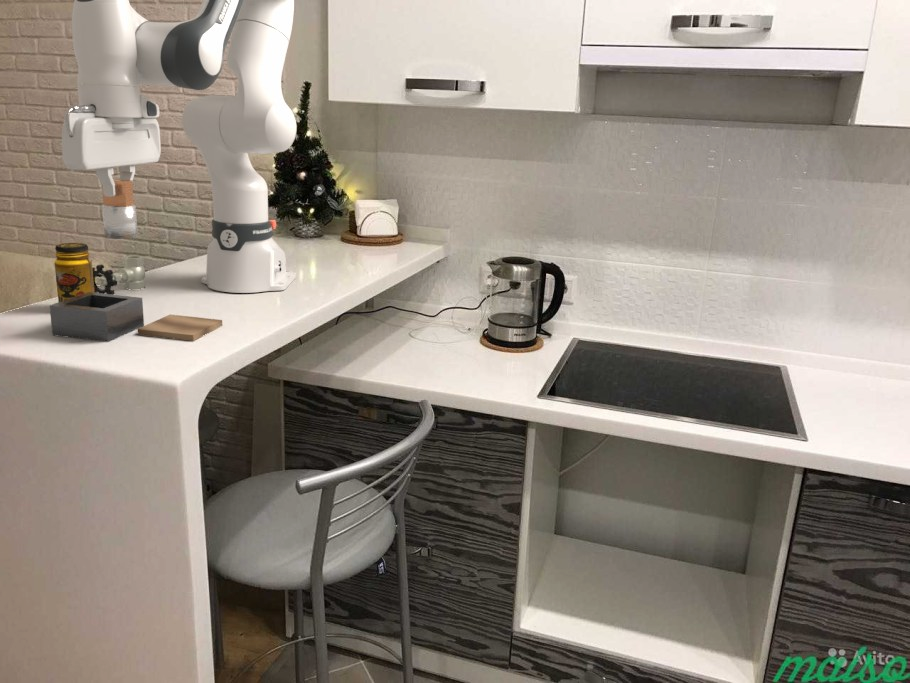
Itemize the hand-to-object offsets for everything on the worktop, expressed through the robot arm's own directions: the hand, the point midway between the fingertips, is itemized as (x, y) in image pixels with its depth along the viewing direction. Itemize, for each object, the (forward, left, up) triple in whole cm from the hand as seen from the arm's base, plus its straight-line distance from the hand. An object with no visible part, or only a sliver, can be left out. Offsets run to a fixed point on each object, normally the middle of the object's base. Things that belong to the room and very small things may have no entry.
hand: (118, 195), depth 121 cm
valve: (-23, -16, -23) cm, 36 cm away
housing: (+2, -4, -23) cm, 23 cm away
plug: (0, 0, -7) cm, 7 cm away
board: (-3, +8, -23) cm, 24 cm away
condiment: (-9, -16, -23) cm, 29 cm away
